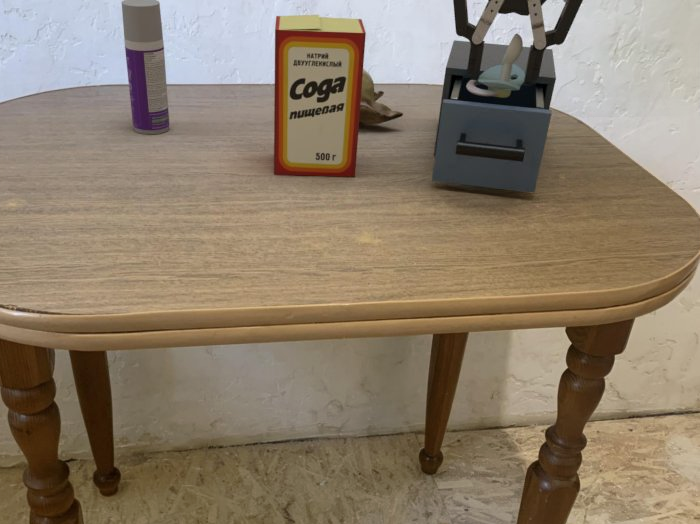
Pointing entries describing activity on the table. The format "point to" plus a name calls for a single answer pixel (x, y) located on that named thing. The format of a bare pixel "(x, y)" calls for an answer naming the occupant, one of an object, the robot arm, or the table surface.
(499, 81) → the pacifier
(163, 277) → the table surface
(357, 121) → the baking soda box
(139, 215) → the table surface
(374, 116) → the ceramic sculpture
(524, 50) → the cabinet
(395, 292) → the table surface
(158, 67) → the container
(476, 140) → the drawer
